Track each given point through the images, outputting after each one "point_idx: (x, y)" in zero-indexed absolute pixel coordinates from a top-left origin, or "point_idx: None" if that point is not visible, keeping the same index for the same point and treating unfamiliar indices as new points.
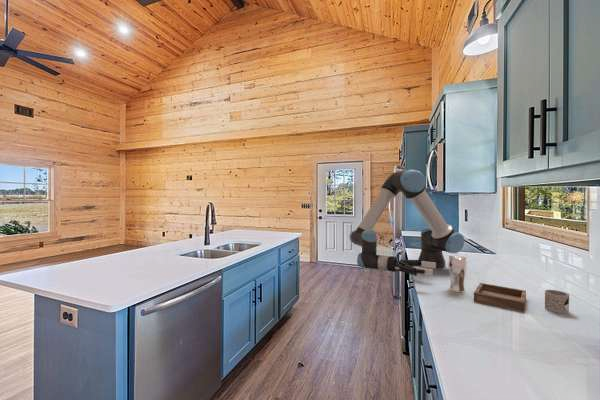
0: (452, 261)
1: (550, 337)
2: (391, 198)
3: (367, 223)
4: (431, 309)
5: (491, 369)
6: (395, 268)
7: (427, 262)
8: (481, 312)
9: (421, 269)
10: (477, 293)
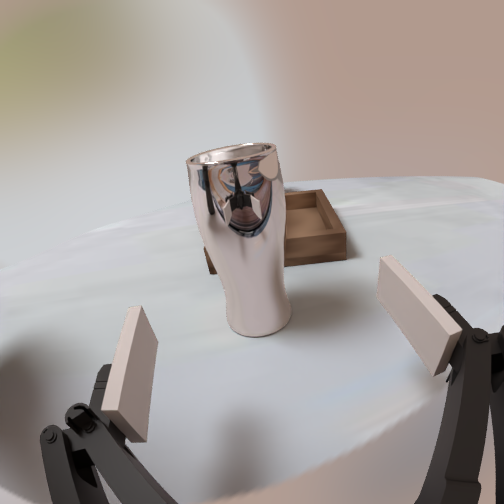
0: (276, 170)
1: (403, 189)
2: None
3: None
4: None
5: None
6: None
7: (129, 359)
8: (410, 235)
9: (437, 311)
10: (343, 227)
